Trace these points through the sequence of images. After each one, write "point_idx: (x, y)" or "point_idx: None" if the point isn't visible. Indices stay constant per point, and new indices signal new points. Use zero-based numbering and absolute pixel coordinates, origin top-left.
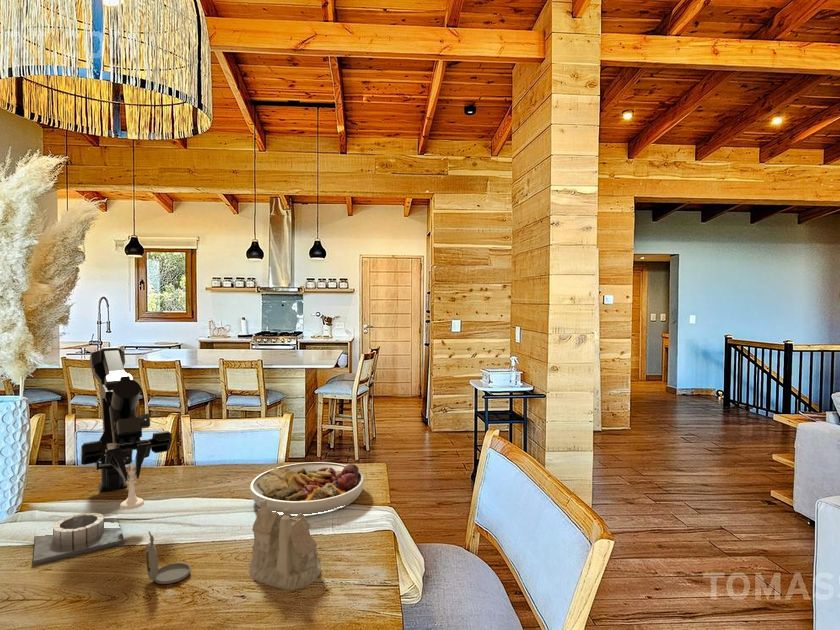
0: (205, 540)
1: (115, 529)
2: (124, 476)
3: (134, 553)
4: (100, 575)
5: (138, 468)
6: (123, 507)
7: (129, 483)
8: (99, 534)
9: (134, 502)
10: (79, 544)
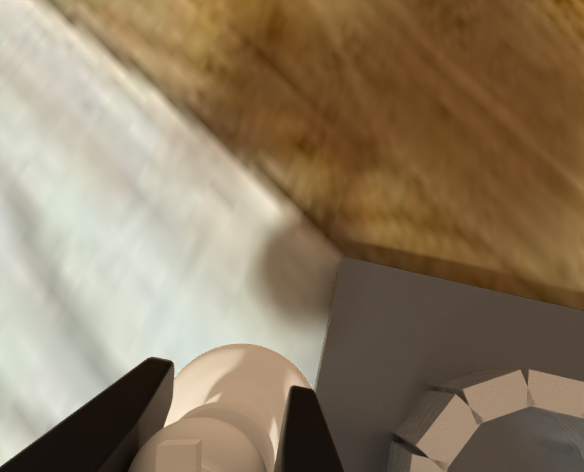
0: (86, 46)
1: (338, 418)
2: (323, 416)
3: (335, 142)
4: (478, 70)
5: (88, 435)
6: None
7: (255, 421)
8: (425, 398)
9: (237, 378)
10: (521, 364)
